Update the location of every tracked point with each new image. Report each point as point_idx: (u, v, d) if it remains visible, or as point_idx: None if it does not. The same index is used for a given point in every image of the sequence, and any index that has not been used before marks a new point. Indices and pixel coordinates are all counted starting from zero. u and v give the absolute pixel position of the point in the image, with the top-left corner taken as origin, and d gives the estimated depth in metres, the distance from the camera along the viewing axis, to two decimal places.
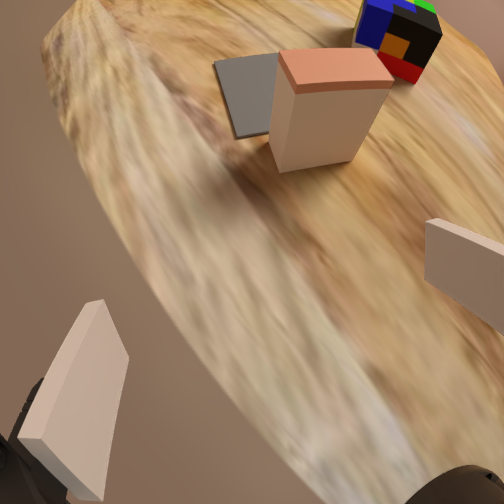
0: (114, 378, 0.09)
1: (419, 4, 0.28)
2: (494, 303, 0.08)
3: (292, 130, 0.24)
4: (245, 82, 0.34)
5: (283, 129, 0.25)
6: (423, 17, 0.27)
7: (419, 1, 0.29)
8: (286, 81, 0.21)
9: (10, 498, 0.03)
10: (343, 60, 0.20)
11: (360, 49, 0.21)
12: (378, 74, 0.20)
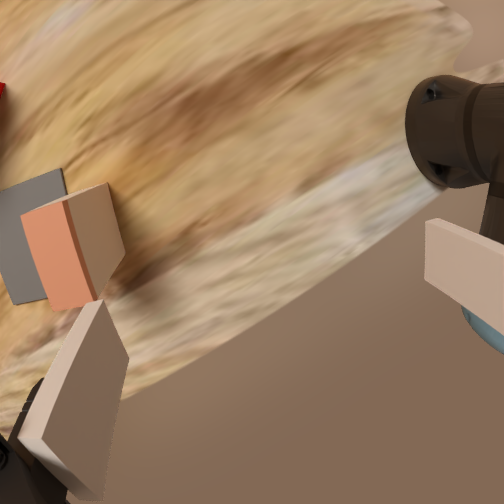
0: (114, 378, 0.09)
1: None
2: (494, 303, 0.08)
3: (109, 273, 0.27)
4: (33, 278, 0.32)
5: None
6: None
7: None
8: None
9: (10, 498, 0.03)
10: (49, 254, 0.20)
11: (26, 229, 0.19)
12: (58, 219, 0.20)
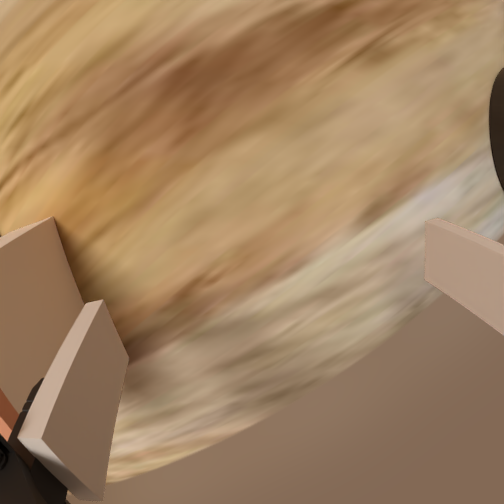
0: (114, 378, 0.09)
1: None
2: (494, 303, 0.08)
3: None
4: None
5: None
6: None
7: None
8: None
9: (10, 498, 0.03)
10: None
11: None
12: None
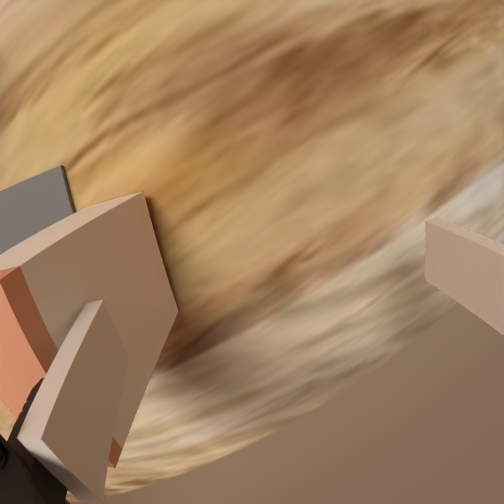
0: (114, 378, 0.09)
1: None
2: (494, 303, 0.08)
3: (146, 375, 0.14)
4: None
5: None
6: None
7: None
8: None
9: (10, 498, 0.03)
10: (8, 378, 0.08)
11: None
12: (3, 319, 0.07)
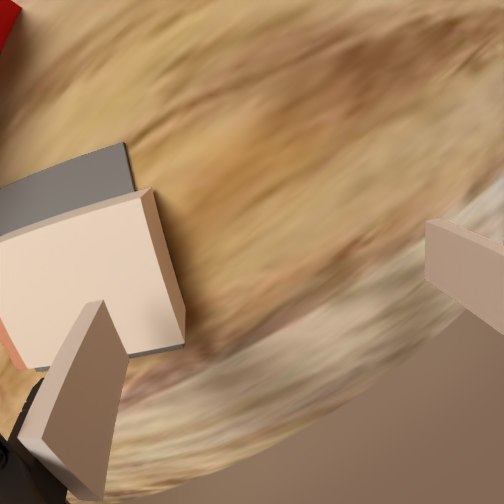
0: (114, 378, 0.09)
1: None
2: (494, 303, 0.08)
3: None
4: None
5: None
6: None
7: None
8: None
9: (10, 498, 0.03)
10: None
11: None
12: None
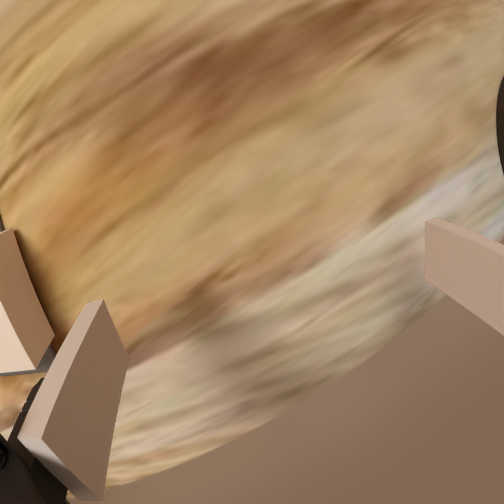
0: (114, 378, 0.09)
1: None
2: (494, 303, 0.08)
3: None
4: None
5: None
6: None
7: None
8: None
9: (10, 498, 0.03)
10: None
11: None
12: None
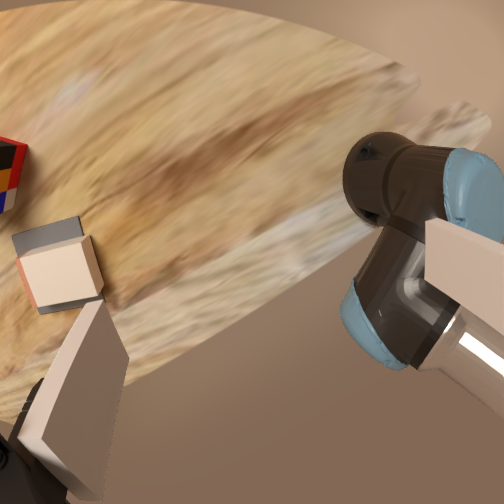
0: (114, 378, 0.09)
1: None
2: (494, 303, 0.08)
3: (58, 300, 0.40)
4: None
5: None
6: None
7: None
8: None
9: (10, 498, 0.03)
10: None
11: None
12: None
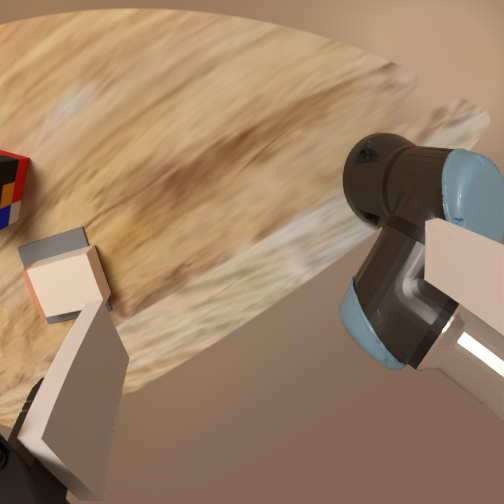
0: (114, 378, 0.09)
1: None
2: (494, 303, 0.08)
3: (66, 310, 0.41)
4: None
5: None
6: None
7: None
8: None
9: (10, 498, 0.03)
10: None
11: None
12: None
